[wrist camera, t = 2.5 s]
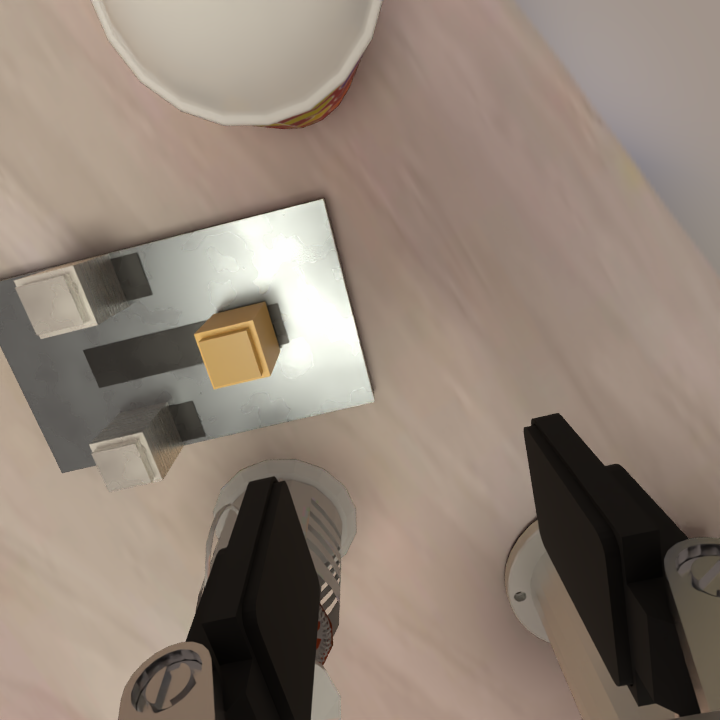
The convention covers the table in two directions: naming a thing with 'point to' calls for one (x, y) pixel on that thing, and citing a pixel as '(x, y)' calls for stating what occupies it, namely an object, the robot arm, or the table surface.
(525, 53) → the table surface
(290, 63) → the smoothie
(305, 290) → the panel
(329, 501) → the french press
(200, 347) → the orange rectangular block
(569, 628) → the robot arm
